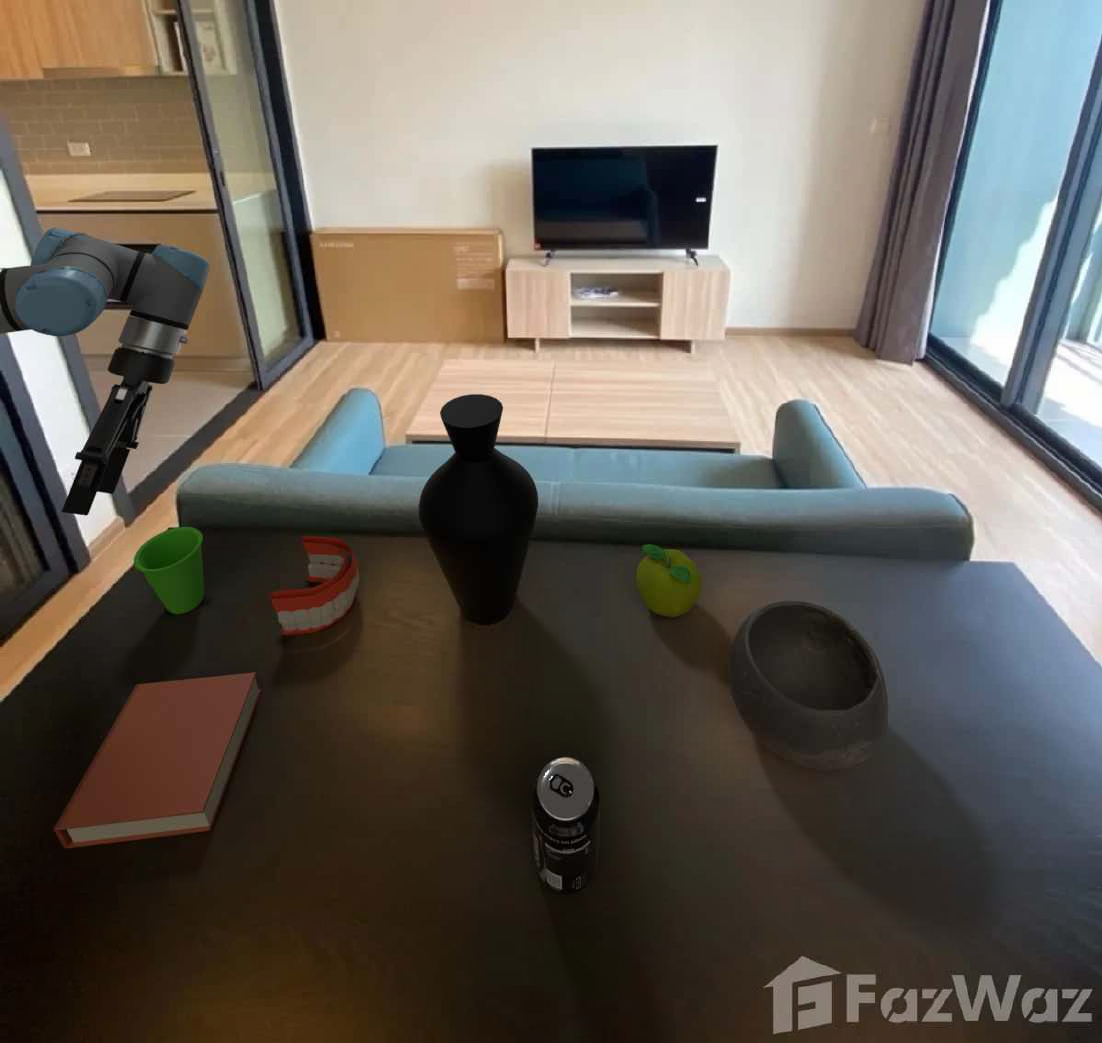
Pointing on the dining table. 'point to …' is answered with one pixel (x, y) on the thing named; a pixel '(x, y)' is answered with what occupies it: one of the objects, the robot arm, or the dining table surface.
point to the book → (162, 762)
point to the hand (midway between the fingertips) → (89, 502)
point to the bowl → (808, 685)
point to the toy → (319, 588)
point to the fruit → (668, 581)
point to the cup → (174, 567)
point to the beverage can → (566, 825)
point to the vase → (479, 512)
